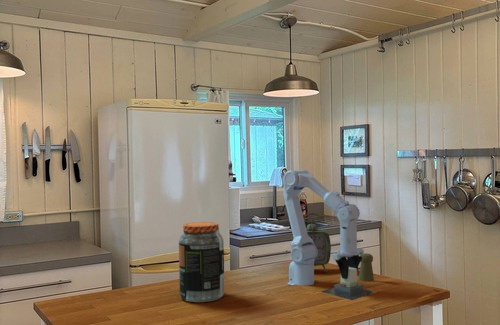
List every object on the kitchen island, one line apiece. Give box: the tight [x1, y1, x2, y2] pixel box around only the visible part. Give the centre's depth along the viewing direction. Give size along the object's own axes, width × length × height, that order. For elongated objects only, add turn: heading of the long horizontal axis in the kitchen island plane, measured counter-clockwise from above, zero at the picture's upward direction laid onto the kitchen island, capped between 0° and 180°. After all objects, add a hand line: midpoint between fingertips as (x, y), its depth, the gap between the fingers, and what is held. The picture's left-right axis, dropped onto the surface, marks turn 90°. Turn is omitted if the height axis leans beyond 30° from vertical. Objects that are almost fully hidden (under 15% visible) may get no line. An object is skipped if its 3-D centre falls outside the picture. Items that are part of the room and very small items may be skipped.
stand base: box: [320, 282, 378, 301], centre depth 176 cm, size 14×14×4 cm
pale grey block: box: [339, 267, 358, 288], centre depth 176 cm, size 4×4×6 cm
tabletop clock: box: [302, 212, 332, 273], centre depth 211 cm, size 14×9×25 cm, turn 90°
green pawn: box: [358, 252, 375, 282], centre depth 193 cm, size 6×6×11 cm
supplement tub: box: [178, 221, 225, 303], centre depth 174 cm, size 16×16×26 cm
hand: (348, 277), depth 176 cm, fingers closed on pale grey block, 4 cm apart
